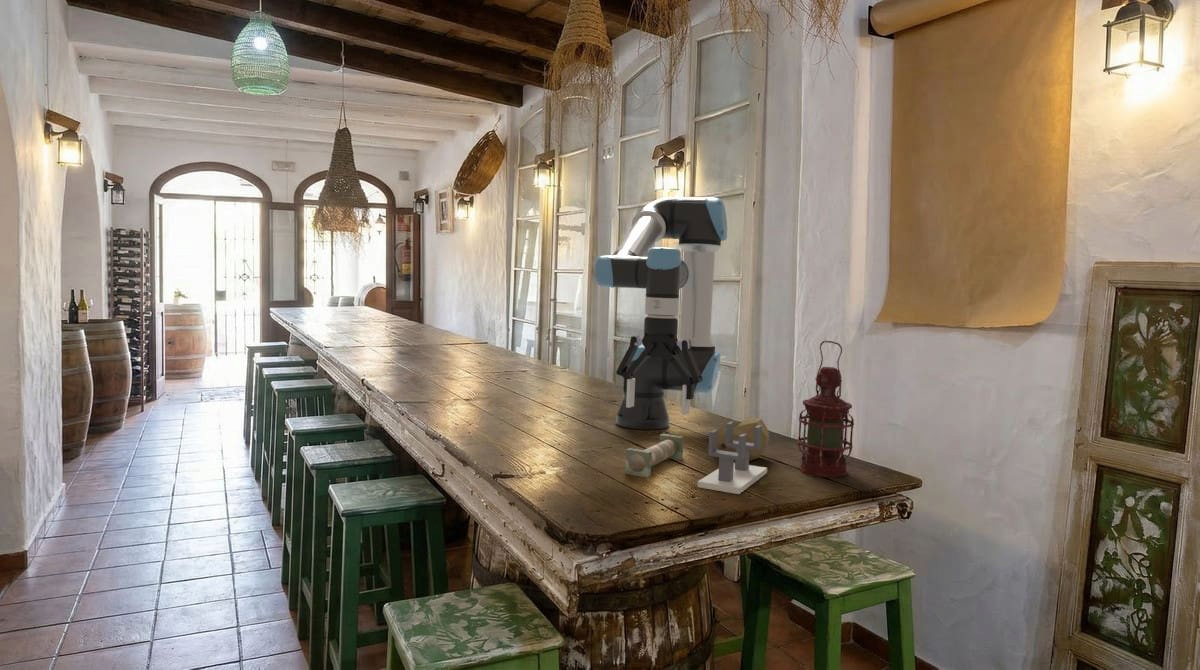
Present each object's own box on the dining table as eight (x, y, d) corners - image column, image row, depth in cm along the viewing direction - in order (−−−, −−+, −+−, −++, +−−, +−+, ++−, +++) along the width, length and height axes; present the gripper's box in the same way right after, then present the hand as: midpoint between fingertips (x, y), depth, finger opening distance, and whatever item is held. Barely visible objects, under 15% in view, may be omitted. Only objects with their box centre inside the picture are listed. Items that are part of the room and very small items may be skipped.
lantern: (785, 466, 186) (792, 338, 183) (827, 463, 191) (835, 338, 188) (817, 480, 175) (826, 344, 172) (862, 476, 179) (871, 343, 177)
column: (661, 455, 193) (662, 433, 192) (682, 459, 190) (683, 436, 190) (625, 473, 175) (626, 449, 174) (647, 477, 172) (648, 453, 172)
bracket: (728, 466, 184) (731, 419, 183) (766, 473, 180) (769, 423, 179) (697, 487, 166) (700, 434, 165) (739, 494, 162) (742, 439, 161)
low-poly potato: (770, 455, 198) (732, 428, 203) (786, 423, 192) (747, 396, 197) (738, 482, 188) (700, 453, 193) (754, 449, 182) (714, 420, 187)
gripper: (604, 313, 182) (600, 406, 184) (708, 320, 170) (703, 419, 172) (619, 312, 188) (615, 401, 190) (719, 319, 177) (715, 414, 179)
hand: (657, 410), depth 181 cm, fingers open, 13 cm apart
